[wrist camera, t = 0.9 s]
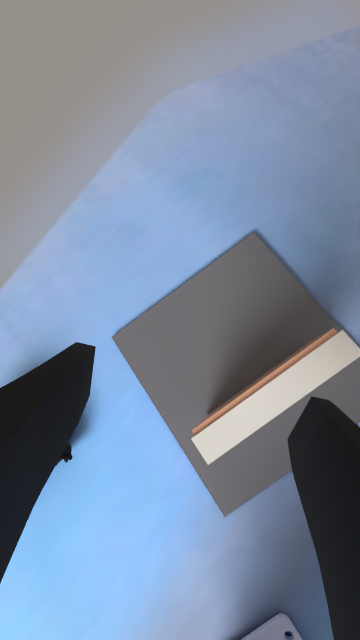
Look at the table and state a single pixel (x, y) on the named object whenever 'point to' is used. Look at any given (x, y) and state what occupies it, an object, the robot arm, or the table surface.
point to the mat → (232, 361)
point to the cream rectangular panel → (273, 393)
